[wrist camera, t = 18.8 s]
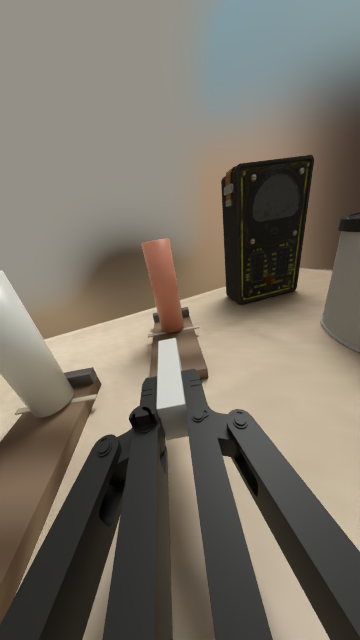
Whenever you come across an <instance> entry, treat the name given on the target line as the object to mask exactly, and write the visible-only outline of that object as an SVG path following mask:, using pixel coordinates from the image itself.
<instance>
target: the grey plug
mask: <svg viewBox="0 0 360 640" xmlns="http://www.w3.org/2000/svg"><path fill="white" fill-rule="evenodd" d="M0 374H1V375H2V376H3V377H4V379H5V380H6V381H7V382H8V384H9V385H10V386H11V387H12V389H13V390H14V391H15V392H16V393H17V395H18V396H19V397H20V398H21V400H22V401H23V402H24V403H25V405H26V406H27V407H28V408H29V410H30V411H31V412H32V413H33V415H34V416H35V417H38V418H42V417H47V416H50V415H52V414H54V413H56V412H58V411H59V410H61V409H62V408H63V407H64V406H65V405H67V404H68V402H69V401H70V400H71V399H72V397H73V394H74V390H73V388H72V386H71V385H70V383H69V381H68V380H67V378H66V376H65V375H64V373H63V371H62V370H61V368H60V366H59V364H58V363H57V361H56V359H55V358H54V356H53V354H52V353H51V351H50V349H49V348H48V346H47V344H46V343H45V341H44V339H43V338H42V336H41V334H40V333H39V331H38V329H37V328H36V326H35V324H34V322H33V321H32V319H31V317H30V316H29V314H28V312H27V311H26V309H25V307H24V306H23V304H22V303H21V301H20V299H19V297H18V296H17V294H16V292H15V291H14V289H13V287H12V286H11V284H10V282H9V281H8V279H7V277H6V275H5V274H4V272H3V271H2V270H1V271H0Z"/></svg>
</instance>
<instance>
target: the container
mask: <svg viewBox="0 0 360 640" xmlns="http://www.w3.org/2000/svg"><path fill="white" fill-rule="evenodd" d="M338 230H339V231H341V236H340V241H339V245H338V249H337V254H336V258H335V263H334V268H333V272H332V277H331V281H330V286H329V290H328V295H327V299H326V304H325V309H324V313H323V314H322V316H321V325H322V327H323V329H324V330H325V331H326V332H327V333H328V334H329V335H330V336H331V337H332V338H334V339H335V340H336V341H338V342H340V343H341V344H343V345H345V346H347V347H348V348H350V349H352V350H355V351H357V352H359V353H360V213H355V214H351V215H348V216H346V217H343V218H341V219H340V224H339V229H338Z"/></svg>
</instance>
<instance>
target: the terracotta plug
mask: <svg viewBox="0 0 360 640" xmlns="http://www.w3.org/2000/svg"><path fill="white" fill-rule="evenodd" d="M141 244H142V248H143V253H144V257H145V261H146V265H147V269H148V273H149V278H150V282H151V286H152V291H153V295H154V299H155V303H156V307H157V312H158V316H159V320H160V324H161V328H162V330H163V331H164V332H175V331H178V330H180V329H182V328H183V326H184V322H183V317H182V311H181V305H180V299H179V293H178V287H177V281H176V276H175V270H174V264H173V258H172V252H171V247H170V241H169V238H166V239H160V240H155V241H149V242H144V243H141Z"/></svg>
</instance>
